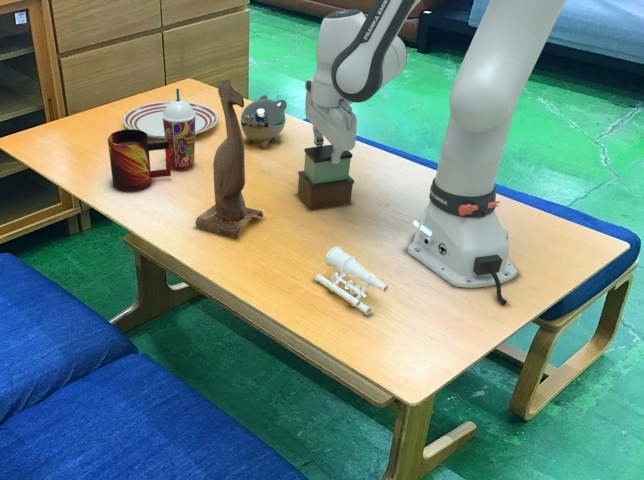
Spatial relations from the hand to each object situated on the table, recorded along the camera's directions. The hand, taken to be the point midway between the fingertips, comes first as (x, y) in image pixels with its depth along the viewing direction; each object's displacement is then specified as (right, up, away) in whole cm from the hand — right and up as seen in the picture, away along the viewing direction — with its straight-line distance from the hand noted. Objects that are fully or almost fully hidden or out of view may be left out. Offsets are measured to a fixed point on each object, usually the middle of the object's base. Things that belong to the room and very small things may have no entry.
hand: (326, 153), depth 152 cm
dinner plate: (-37, +19, +44) cm, 60 cm away
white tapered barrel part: (0, -33, -23) cm, 40 cm away
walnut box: (+1, -9, +7) cm, 11 cm away
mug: (-44, -2, +18) cm, 47 cm away
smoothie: (-33, +3, +24) cm, 41 cm away
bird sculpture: (-22, -16, 0) cm, 27 cm away
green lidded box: (0, -4, +3) cm, 5 cm away
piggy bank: (-11, +12, +34) cm, 38 cm away
